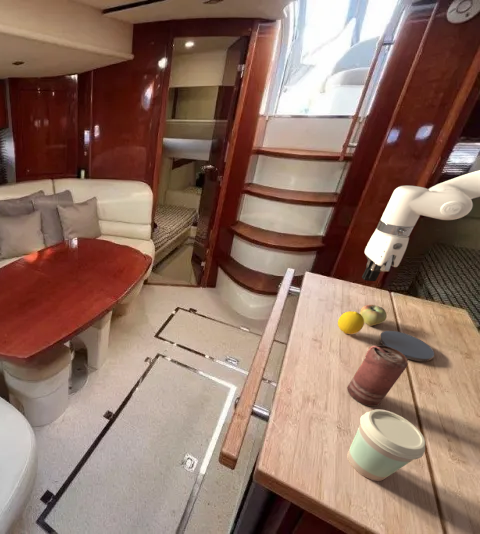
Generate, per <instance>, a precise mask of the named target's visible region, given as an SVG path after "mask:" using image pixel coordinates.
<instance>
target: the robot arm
mask: <svg viewBox="0 0 480 534" xmlns="http://www.w3.org/2000/svg"><path fill="white" fill-rule="evenodd" d="M476 198H480V170H475V171H472V172H471V171H470V172H469V173H465V174H462V175H459V176H457V177H454V178H451V179H448V180H445V181H443V182H440V183H437V184H435V185H433V186H431V187H429V188H426V187H423V186H418V185H417V186H416V185H400V186H398V187H396V188H395V189H394V190H393V192H392V194H391V196H390V199H389V201H388V202H387V205H386V207H385V209H384V211H383V213H382V216H381V218H380V219H379V222H378V224H377V226H376V228H375V230H374V232H373V233H372V235H371V237H370V239H368V242H367V244H366V246H365V248H364V254H365V257H366V259H367V263H366V265H365V266H366V268H365V270H364V272H363V274H362V276H361V278H362V280H364V281H366V282H376V281H377V280H378V278H379V275H380V273H381V272H390V270H391V267H393V268H397V267H398V266H400V263H401V262H402V259H403V257H404V255H405V253H406V250H407V247H408V244H409V240H410V235H411V233H412V232H413V229H414V227H415V226H416V224H417V222H418V221H419V218H420V216H424V217H427V218H431V219H436V220H441V221H453V220H457V219H461V218H463V217H465V216H467V215H469V213H470V212H471V211H472V209H473V207H474V203H473V201H472V200H473V199H476Z"/></svg>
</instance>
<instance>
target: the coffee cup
mask: <svg viewBox="0 0 480 534" xmlns="http://www.w3.org/2000/svg"><path fill="white" fill-rule="evenodd" d="M359 423H360V424H359V426H358V428H357V430H356V433H355V435H354V437H353V440H352V441H351V444H350V447H349V449H348V451H347V454H346V456H347V457H346V458H347V461H348V463H349V464H350V466H351V467H352V468H353V469H354V470H355V471H356V472H357V473H358V474H360V475H361V476H363V477H365V478H367V479H369V480H371V481H375V482H381V481H383V480H385V479H386V478H388V477H390V476H391V475H393V474H394V473H396V472H397V471H399V470H400V469H402V468H403V467H405V466H406V465H408V464H409V463H410V462H412V461H413V460H419V459H421V458H422V457H423V456H424V454H425V451H426V439H425V437H424V435H423V434H422V432H421V431H420V429H418V428H417V426H415V425H414V423H412V422H411V421H409V420H407V418H404V417H403V416H401V415H399V414H397V413H395V412H393V411H389V410H387V409H386V410H385V409H379V408H378V409H376V408H375V409H372V410H370V411H366V412H365V413H364V414H362V415H361V416H360V418H359Z"/></svg>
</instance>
